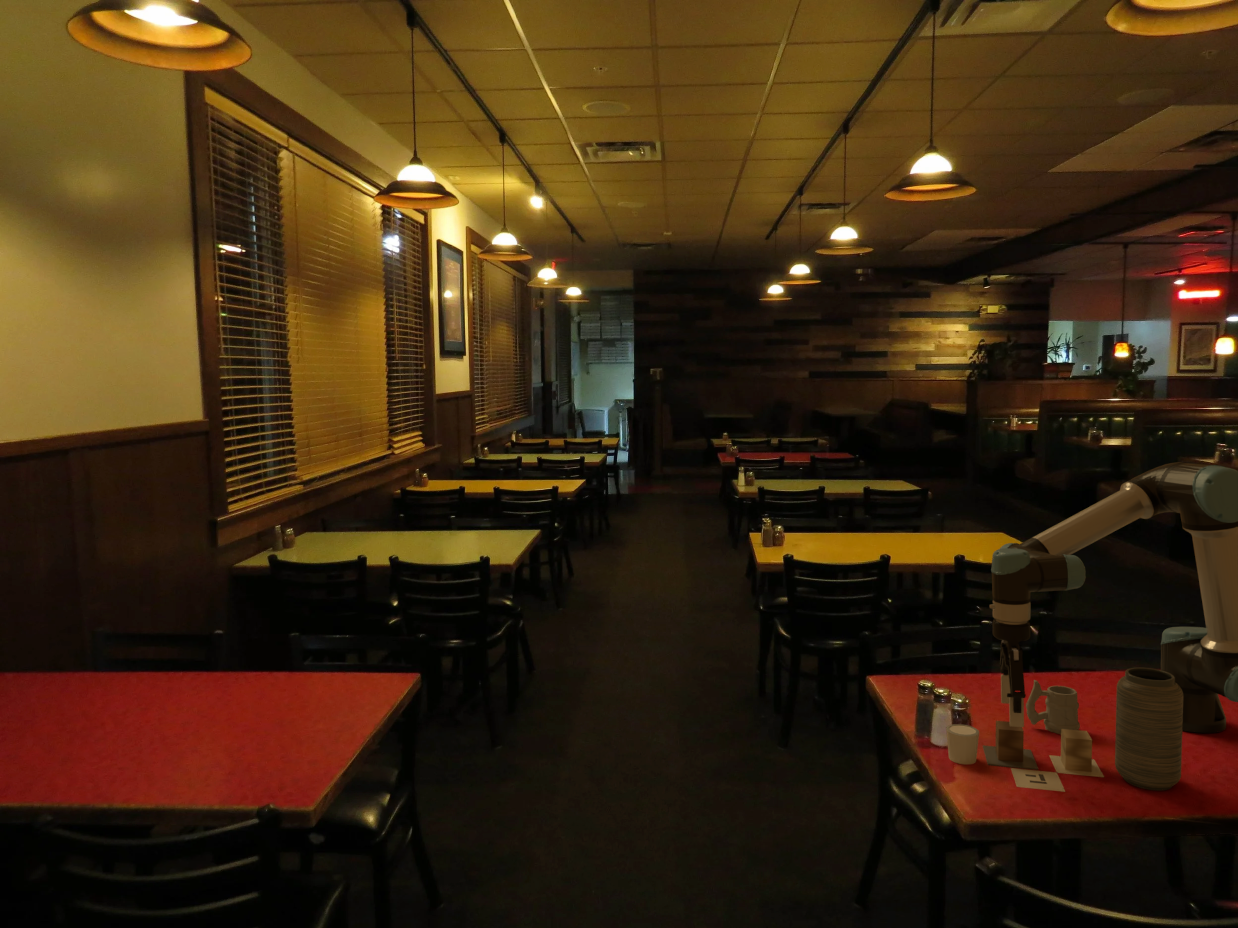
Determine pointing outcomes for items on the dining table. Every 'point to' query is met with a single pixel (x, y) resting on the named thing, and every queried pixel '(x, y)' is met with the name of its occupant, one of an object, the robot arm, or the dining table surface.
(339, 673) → the dining table surface
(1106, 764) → the dining table surface
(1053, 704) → the mug
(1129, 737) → the vase
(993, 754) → the slate coaster
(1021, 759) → the walnut block
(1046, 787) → the white marker tile
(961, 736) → the beige short cylinder
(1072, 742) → the maple block
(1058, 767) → the maple tile
